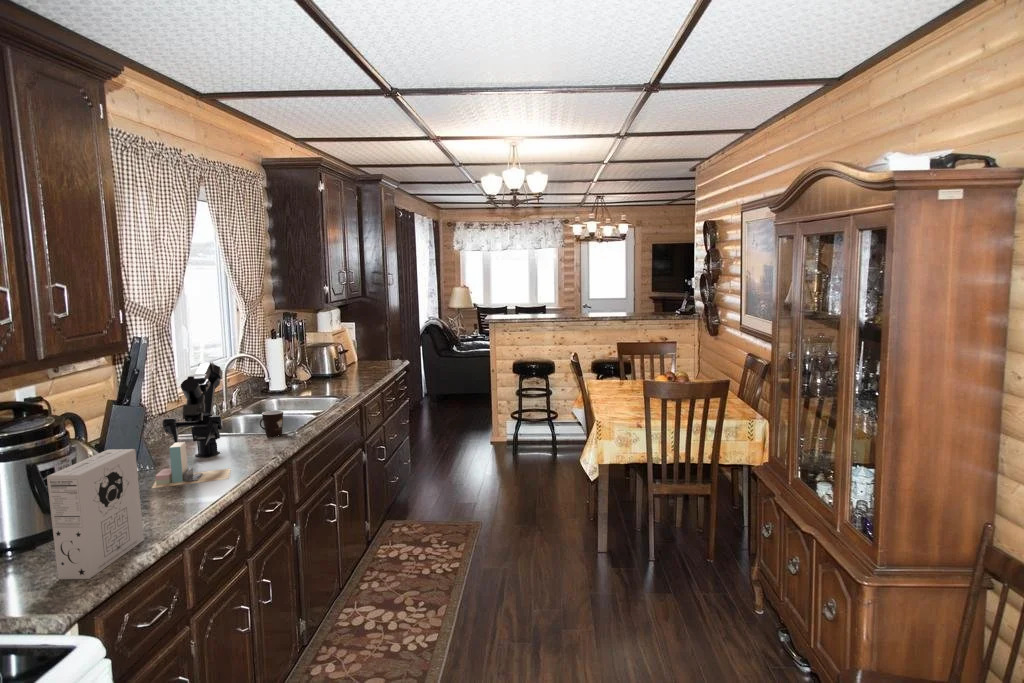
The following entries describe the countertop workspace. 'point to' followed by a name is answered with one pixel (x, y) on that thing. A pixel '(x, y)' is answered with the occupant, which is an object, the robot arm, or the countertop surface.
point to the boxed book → (178, 461)
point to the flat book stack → (164, 477)
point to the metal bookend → (191, 475)
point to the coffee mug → (272, 422)
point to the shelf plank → (202, 477)
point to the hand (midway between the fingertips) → (191, 445)
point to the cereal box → (95, 512)
